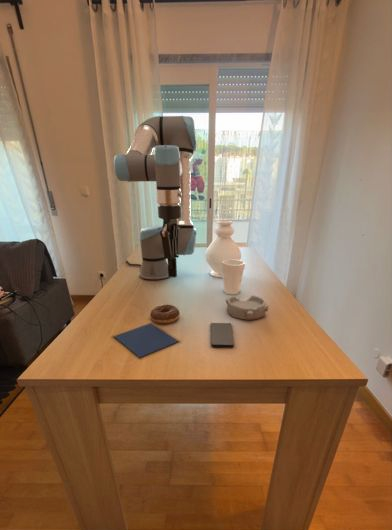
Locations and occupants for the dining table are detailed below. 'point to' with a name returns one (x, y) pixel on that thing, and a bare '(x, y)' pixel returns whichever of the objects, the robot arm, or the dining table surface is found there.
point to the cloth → (145, 340)
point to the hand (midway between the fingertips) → (172, 276)
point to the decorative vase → (222, 248)
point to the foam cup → (232, 275)
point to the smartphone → (221, 335)
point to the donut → (164, 313)
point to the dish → (247, 307)
